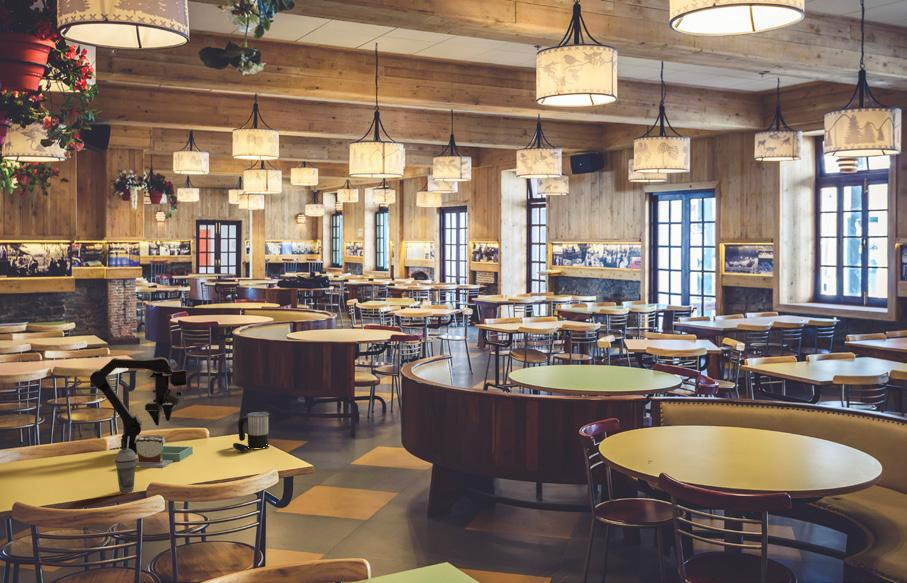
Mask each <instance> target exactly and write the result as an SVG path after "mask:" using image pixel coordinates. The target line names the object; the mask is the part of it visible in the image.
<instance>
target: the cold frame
mask: <svg viewBox="0 0 907 583" xmlns="http://www.w3.org/2000/svg"><path fill="white" fill-rule="evenodd" d="M193 449H194V448H193V446H183V445H182V446H179V445H177V446H176V445H174V446H173V445H163V456H162V460H172V462H180V461H183V460H184V459H186V458H188V457H189V455H190V456H191V455H193V454H194V452H193Z"/></svg>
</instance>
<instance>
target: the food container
mask: <svg viewBox="0 0 907 583" xmlns="http://www.w3.org/2000/svg"><path fill="white" fill-rule="evenodd" d="M134 443H136V447H137V453H136V454H137V455H136V456H137V460H138V463H162V456H163V446H164V444H165V443H166V440H165V437H164V436H163V435H159V434H158V435H157V434H149V435H141V436H136V439H135V442H134Z"/></svg>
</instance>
